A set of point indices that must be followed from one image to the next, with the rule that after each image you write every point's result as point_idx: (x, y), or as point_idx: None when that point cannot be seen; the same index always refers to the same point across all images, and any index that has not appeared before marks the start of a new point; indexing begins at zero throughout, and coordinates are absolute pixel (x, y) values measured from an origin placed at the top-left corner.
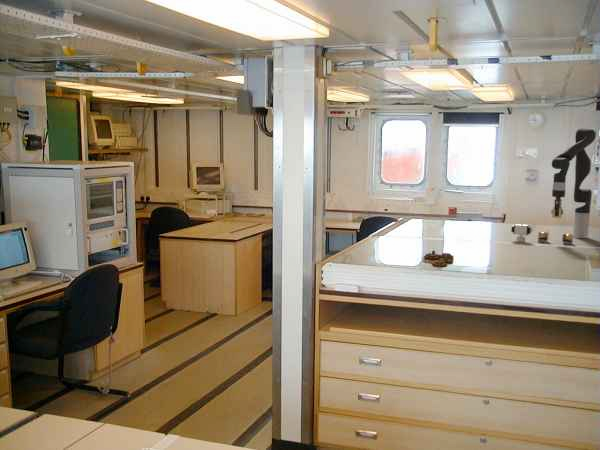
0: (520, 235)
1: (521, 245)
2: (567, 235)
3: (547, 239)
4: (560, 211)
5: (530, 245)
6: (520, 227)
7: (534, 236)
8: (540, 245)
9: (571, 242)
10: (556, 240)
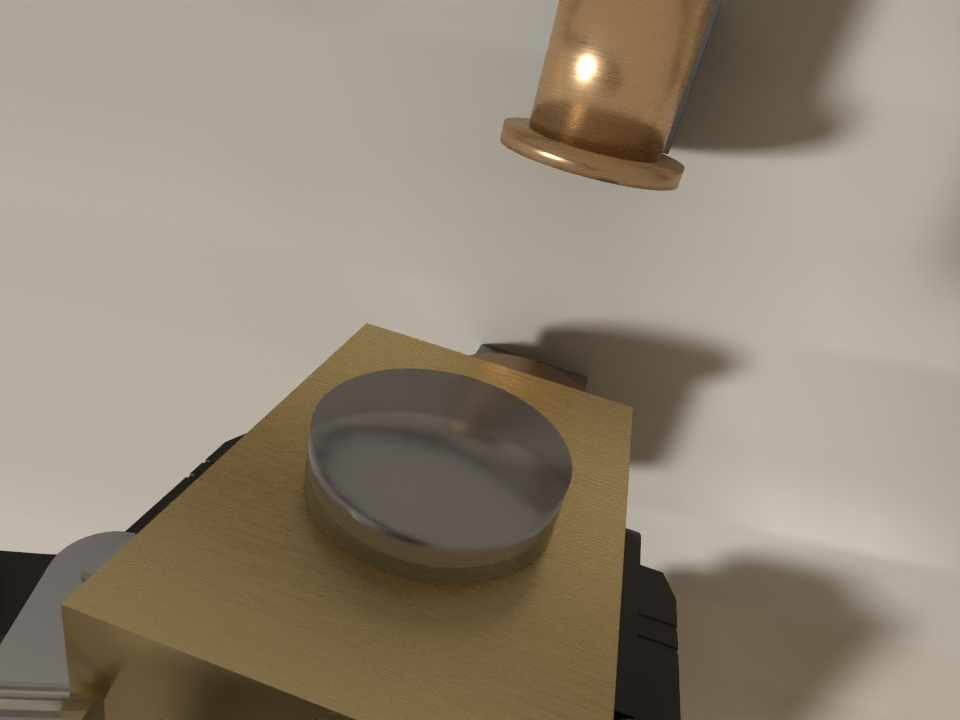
0: None
1: (912, 703)
2: (666, 89)
3: (564, 379)
4: (612, 609)
5: (895, 613)
6: None
7: (89, 401)
8: (872, 499)
9: (718, 3)
10: (289, 187)
